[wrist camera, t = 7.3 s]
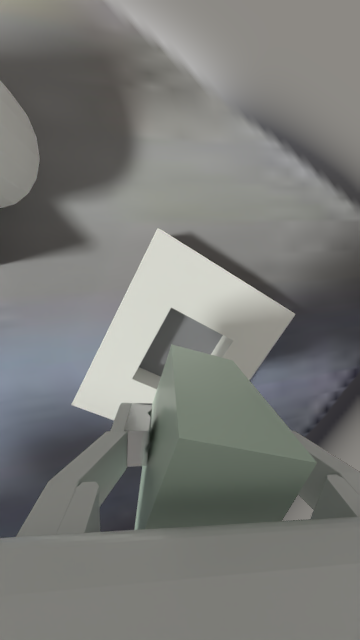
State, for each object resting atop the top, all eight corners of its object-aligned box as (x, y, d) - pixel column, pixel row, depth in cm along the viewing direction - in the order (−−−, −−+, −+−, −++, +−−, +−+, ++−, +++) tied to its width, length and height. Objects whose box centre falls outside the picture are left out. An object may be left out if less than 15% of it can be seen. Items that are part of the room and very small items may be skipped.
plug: (206, 424, 11) (247, 576, 6) (149, 413, 11) (129, 569, 5) (232, 360, 10) (317, 463, 5) (171, 344, 10) (179, 437, 4)
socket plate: (195, 429, 19) (199, 451, 17) (85, 386, 17) (71, 404, 14) (276, 308, 16) (295, 314, 14) (159, 236, 14) (157, 227, 12)
